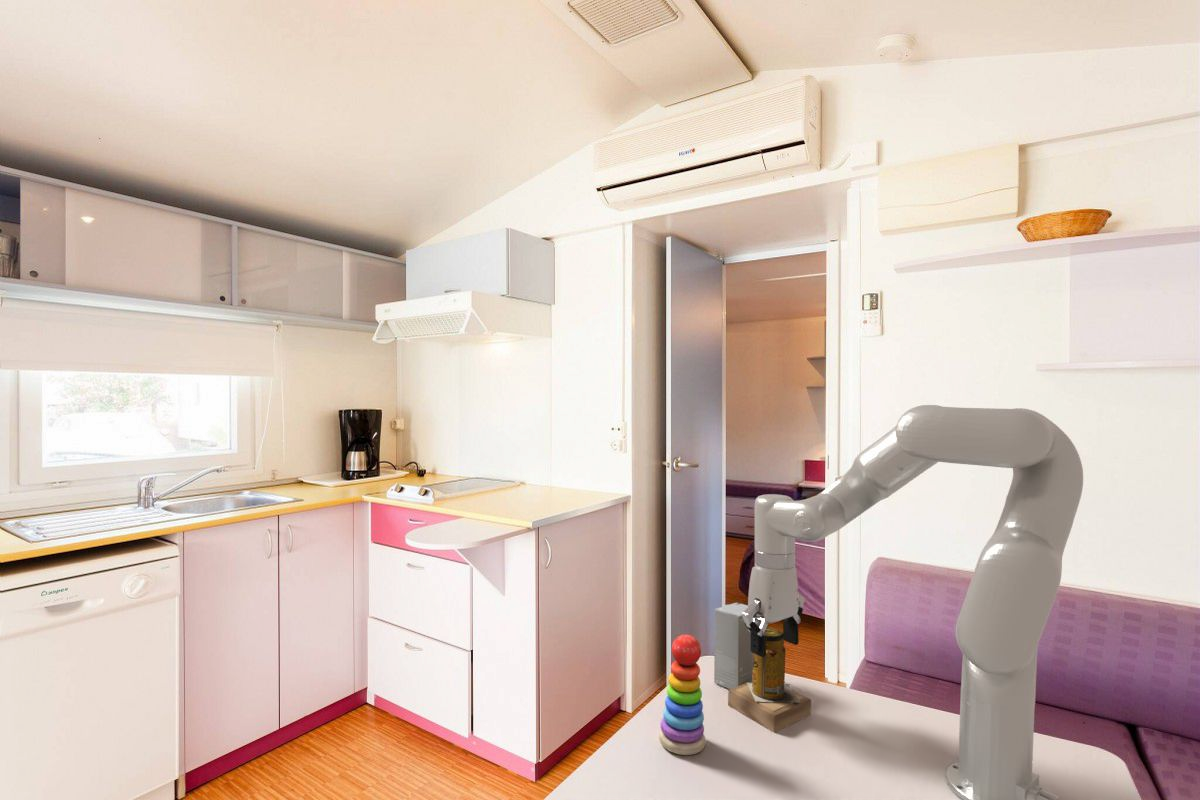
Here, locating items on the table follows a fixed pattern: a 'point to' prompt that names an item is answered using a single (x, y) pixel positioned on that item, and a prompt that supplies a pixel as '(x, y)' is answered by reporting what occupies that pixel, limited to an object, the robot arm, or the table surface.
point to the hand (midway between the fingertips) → (774, 648)
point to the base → (768, 708)
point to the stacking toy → (684, 701)
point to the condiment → (771, 671)
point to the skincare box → (732, 647)
